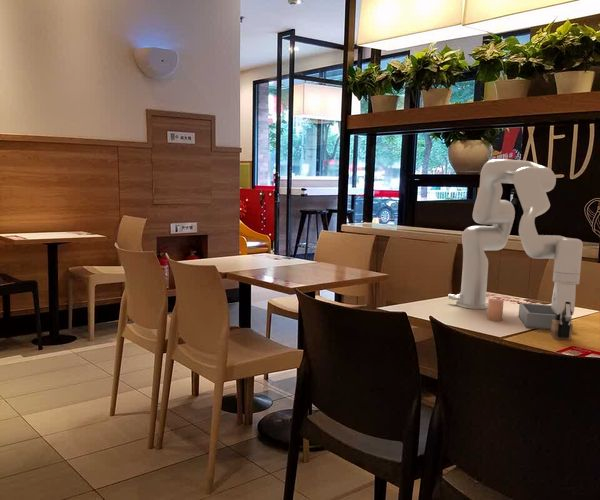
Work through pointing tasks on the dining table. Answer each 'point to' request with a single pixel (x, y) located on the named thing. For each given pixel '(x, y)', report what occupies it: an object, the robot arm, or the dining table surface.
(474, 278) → the robot arm
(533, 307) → the tote
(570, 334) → the walnut cube
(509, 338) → the dining table surface
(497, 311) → the terracotta cylinder
